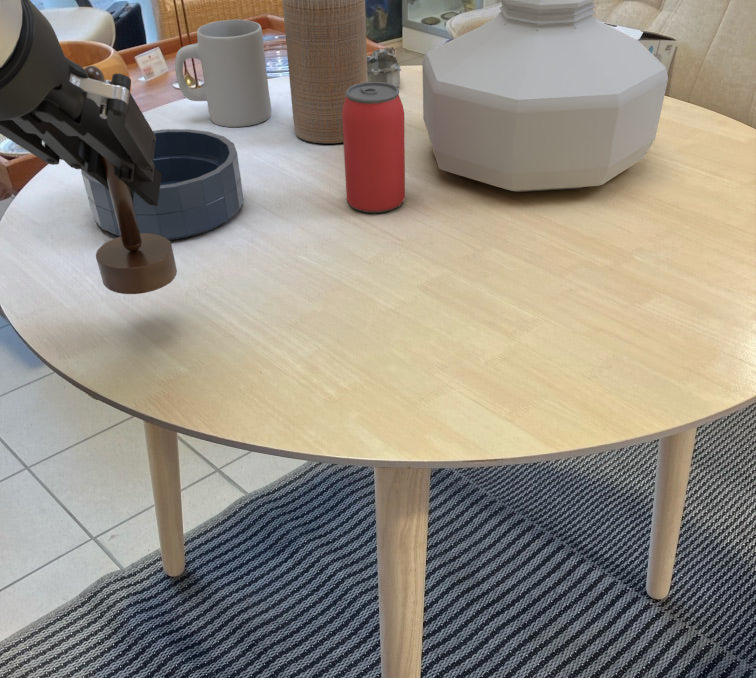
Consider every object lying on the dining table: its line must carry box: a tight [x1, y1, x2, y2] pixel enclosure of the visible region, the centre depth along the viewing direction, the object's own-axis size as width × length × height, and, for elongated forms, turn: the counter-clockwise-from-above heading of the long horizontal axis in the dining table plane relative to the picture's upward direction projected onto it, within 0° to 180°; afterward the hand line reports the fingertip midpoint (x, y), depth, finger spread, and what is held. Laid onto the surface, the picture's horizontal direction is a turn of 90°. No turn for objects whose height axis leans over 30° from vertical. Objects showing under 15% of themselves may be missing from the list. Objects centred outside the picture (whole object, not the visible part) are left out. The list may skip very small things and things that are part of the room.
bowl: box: [80, 128, 245, 241], centre depth 95 cm, size 17×17×6 cm
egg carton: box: [367, 46, 402, 88], centre depth 125 cm, size 11×8×4 cm
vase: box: [281, 0, 368, 145], centre depth 104 cm, size 10×10×28 cm
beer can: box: [342, 82, 406, 214], centre depth 93 cm, size 7×7×12 cm
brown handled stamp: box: [83, 65, 178, 295], centre depth 69 cm, size 6×6×17 cm
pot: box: [422, 0, 669, 193], centre depth 98 cm, size 28×28×19 cm
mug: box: [174, 19, 272, 128], centre depth 114 cm, size 12×8×11 cm
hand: (142, 188), depth 73 cm, fingers closed on brown handled stamp, 2 cm apart
